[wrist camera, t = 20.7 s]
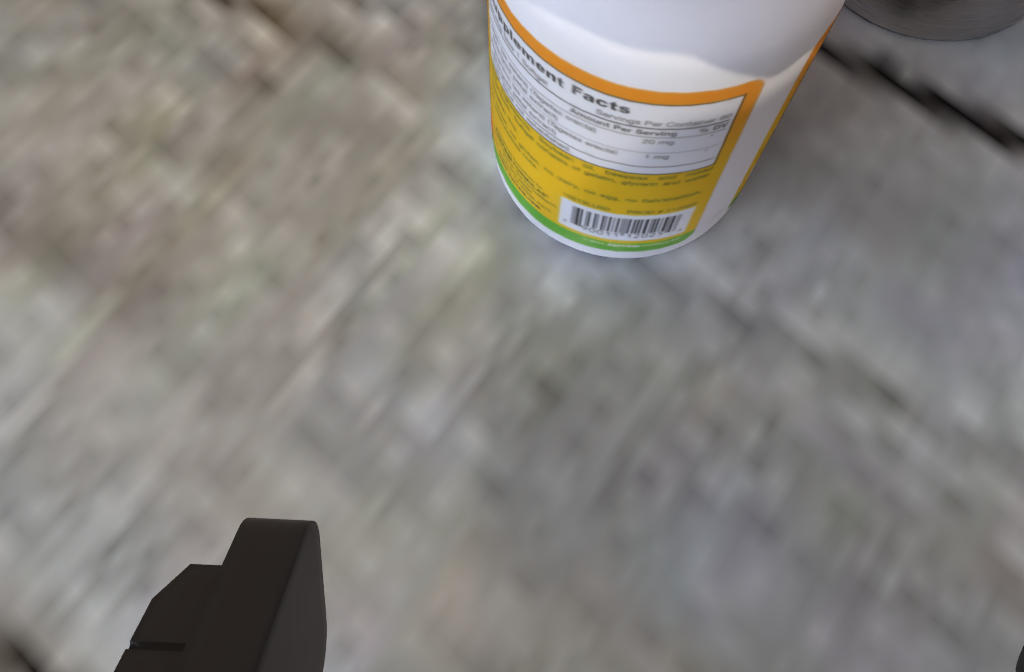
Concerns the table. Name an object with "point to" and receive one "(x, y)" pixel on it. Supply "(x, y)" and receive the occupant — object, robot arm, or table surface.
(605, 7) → the supplement bottle
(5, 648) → the table surface
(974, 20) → the burgundy tin
